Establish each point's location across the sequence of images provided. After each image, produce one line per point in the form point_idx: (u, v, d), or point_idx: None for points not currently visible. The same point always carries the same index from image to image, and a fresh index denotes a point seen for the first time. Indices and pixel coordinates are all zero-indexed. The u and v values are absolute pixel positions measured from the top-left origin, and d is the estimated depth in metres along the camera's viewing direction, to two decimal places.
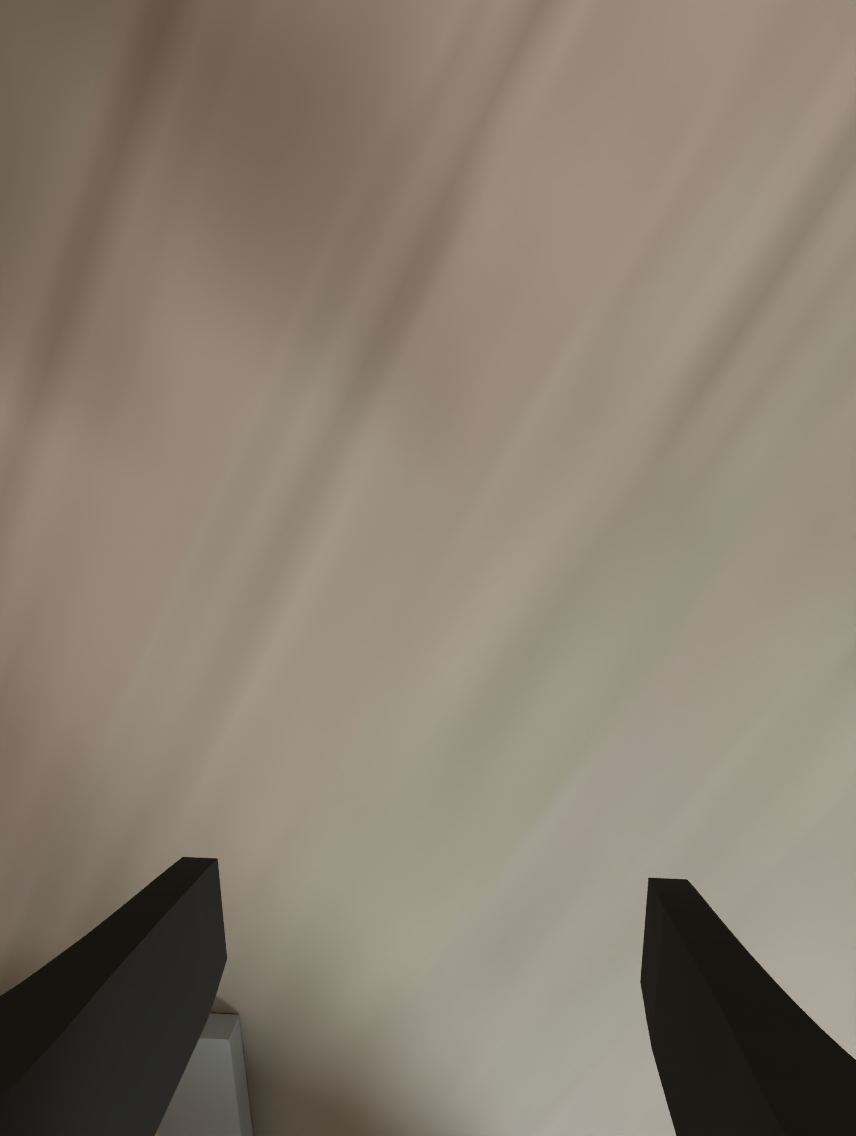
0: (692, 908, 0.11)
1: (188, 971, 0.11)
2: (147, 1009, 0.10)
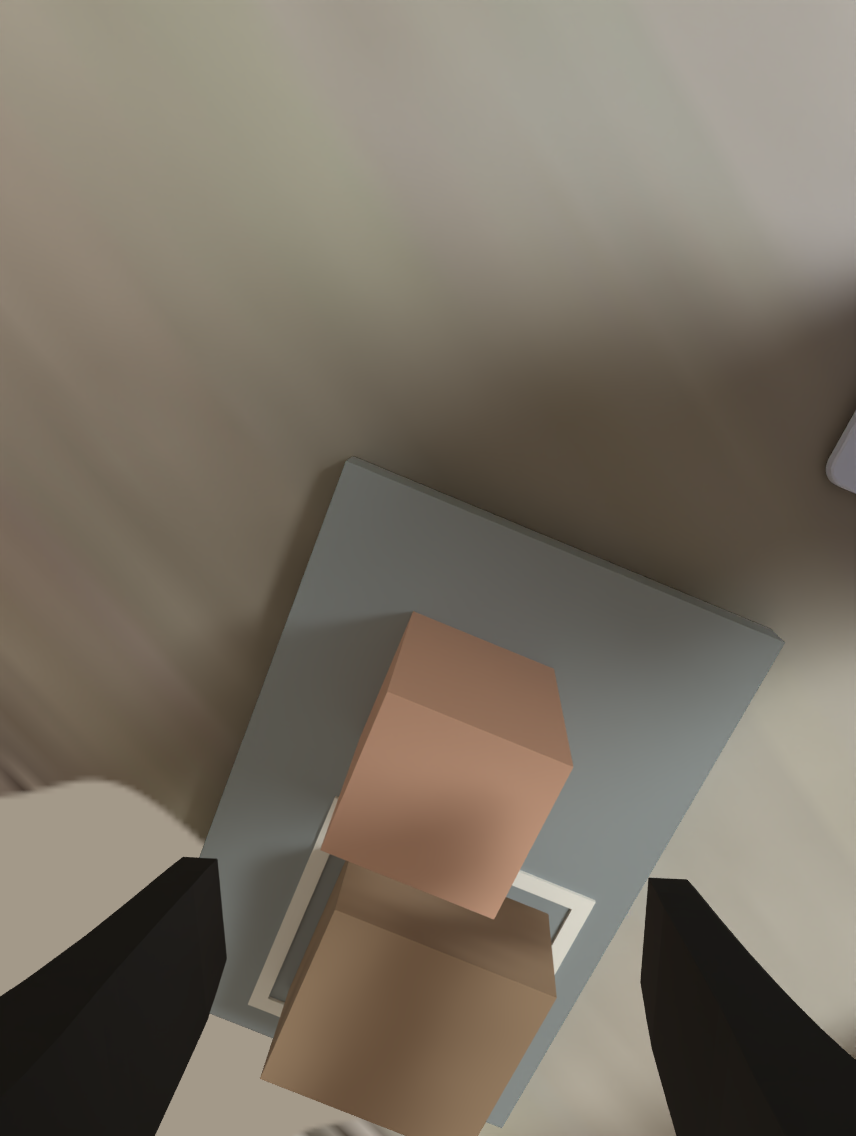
0: (692, 908, 0.11)
1: (188, 971, 0.11)
2: (147, 1009, 0.10)
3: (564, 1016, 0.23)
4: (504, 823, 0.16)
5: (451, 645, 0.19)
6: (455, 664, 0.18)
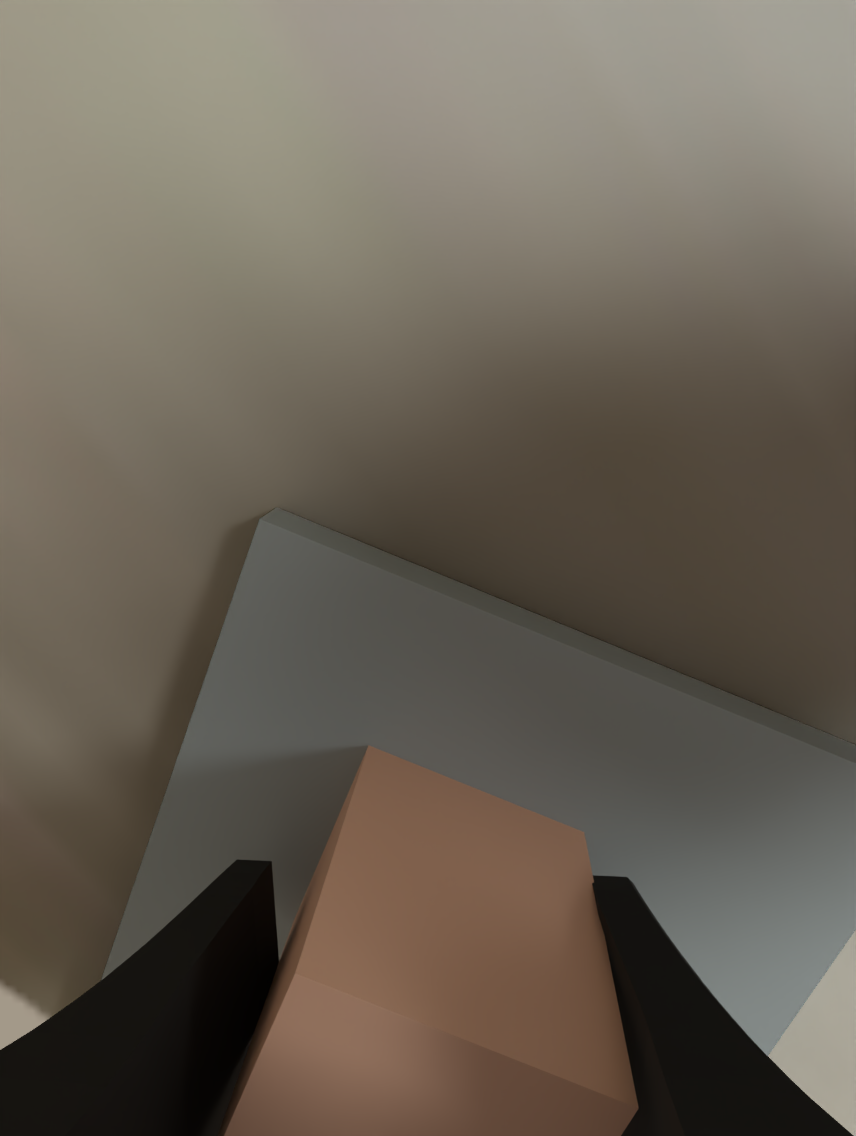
0: (627, 905, 0.11)
1: (247, 974, 0.11)
2: (213, 1013, 0.10)
3: None
4: None
5: (425, 813, 0.12)
6: (429, 859, 0.11)
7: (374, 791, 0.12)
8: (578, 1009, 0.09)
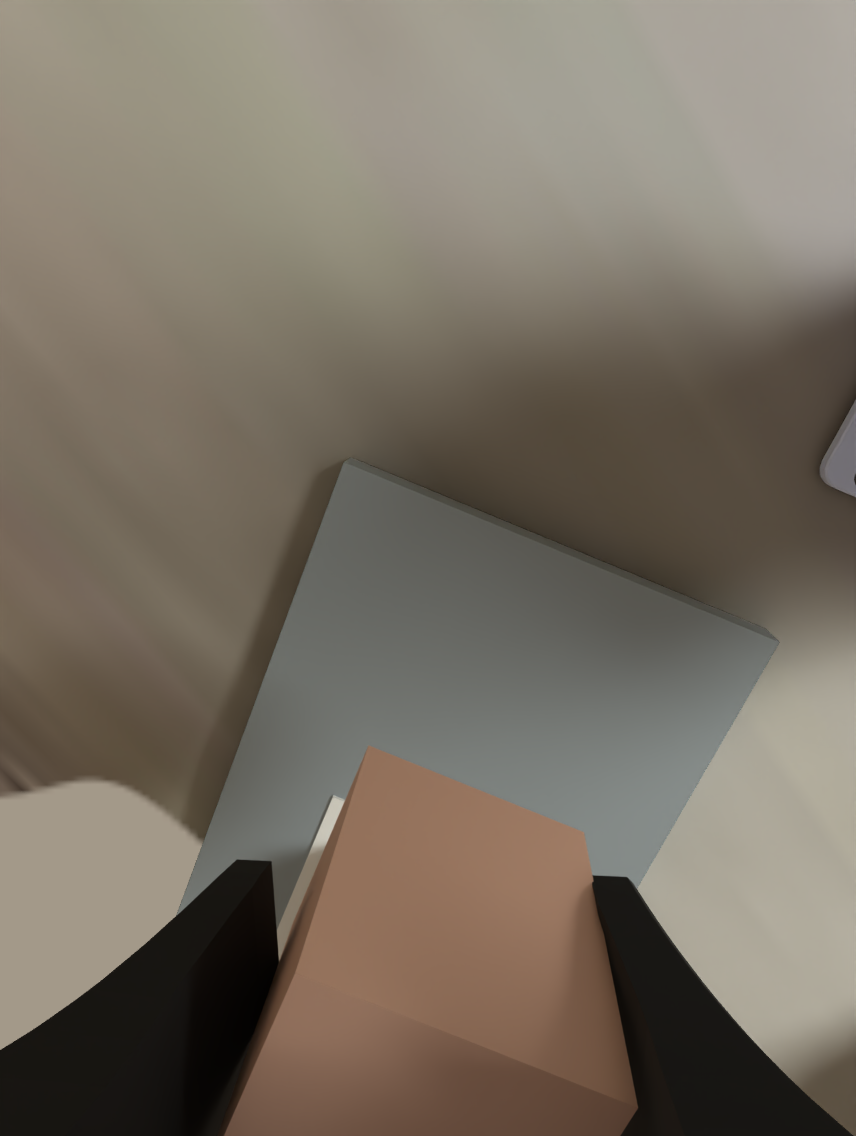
0: (626, 905, 0.11)
1: (247, 974, 0.11)
2: (212, 1013, 0.10)
3: None
4: None
5: (424, 814, 0.12)
6: (429, 859, 0.11)
7: (374, 791, 0.12)
8: (578, 1009, 0.09)
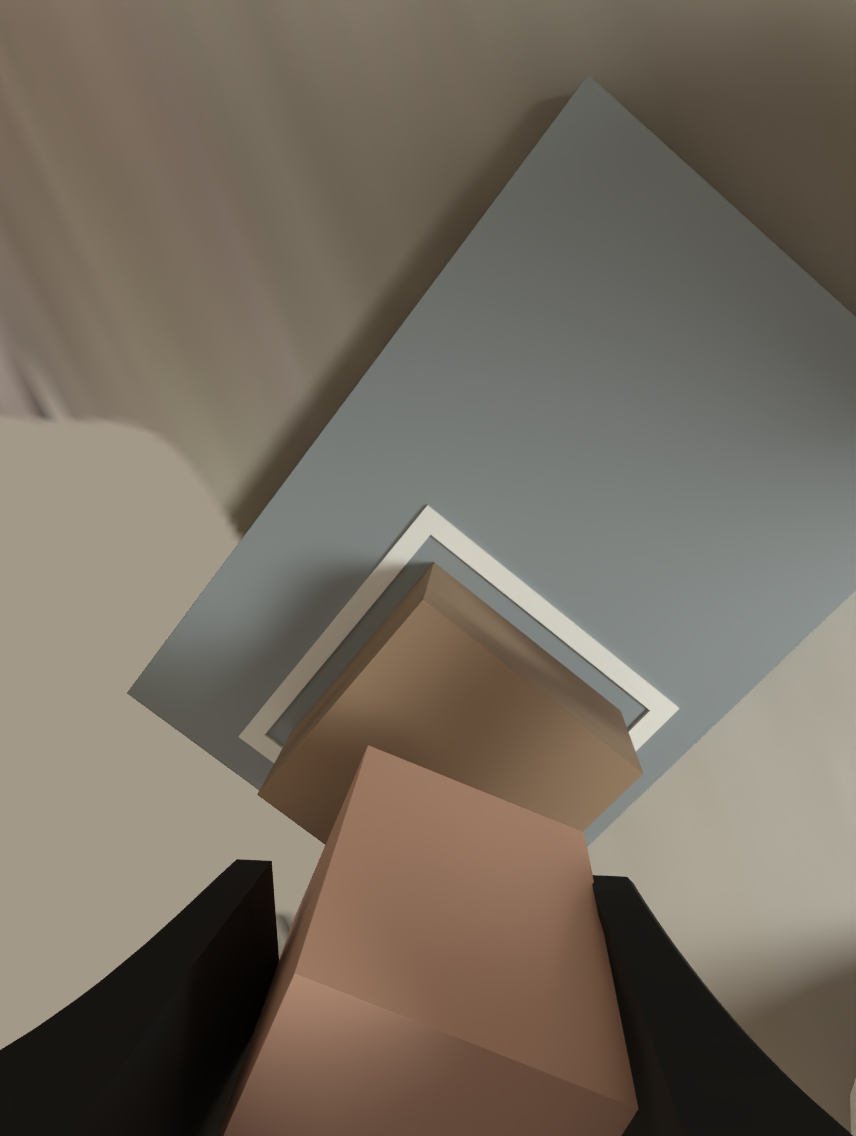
0: (626, 905, 0.11)
1: (247, 974, 0.11)
2: (212, 1013, 0.10)
3: (592, 838, 0.20)
4: None
5: (424, 813, 0.12)
6: (428, 860, 0.11)
7: (374, 791, 0.12)
8: (578, 1010, 0.09)
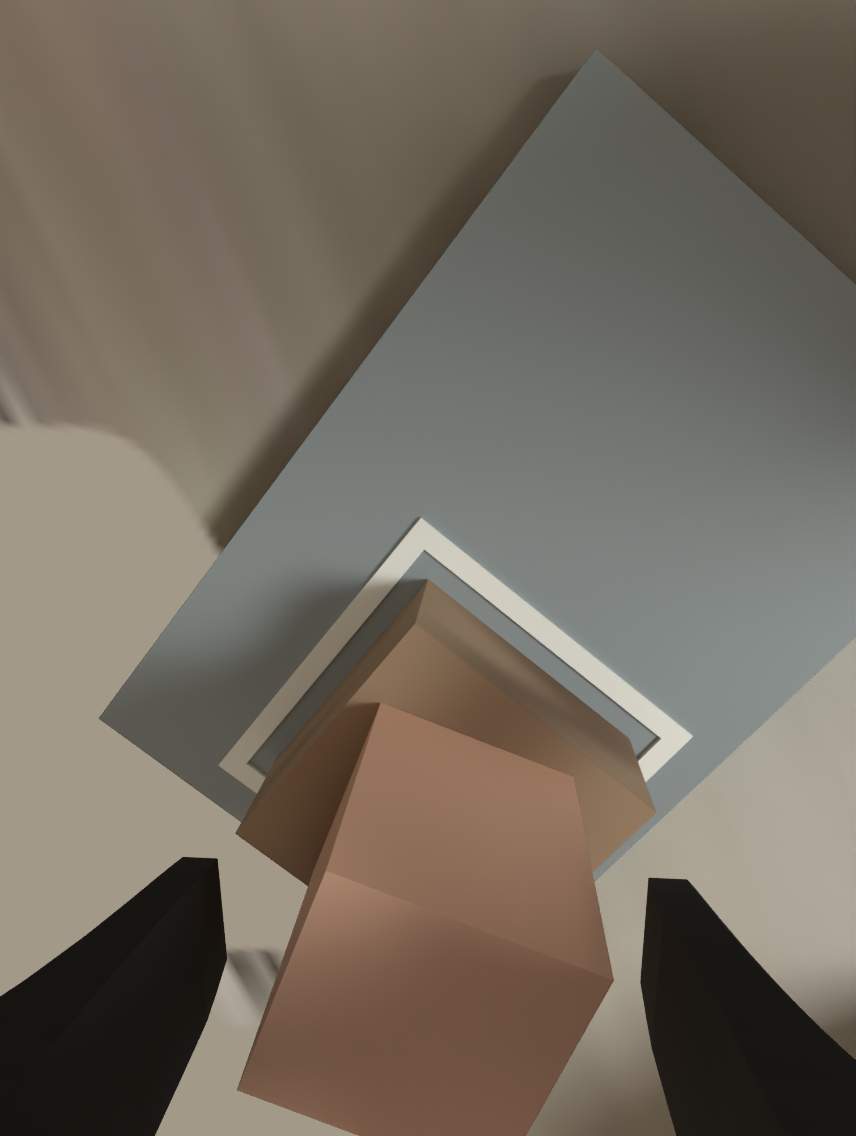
0: (692, 908, 0.11)
1: (188, 971, 0.11)
2: (147, 1009, 0.10)
3: (598, 873, 0.19)
4: (508, 1056, 0.10)
5: (431, 758, 0.13)
6: (435, 793, 0.12)
7: (387, 739, 0.13)
8: (564, 908, 0.11)
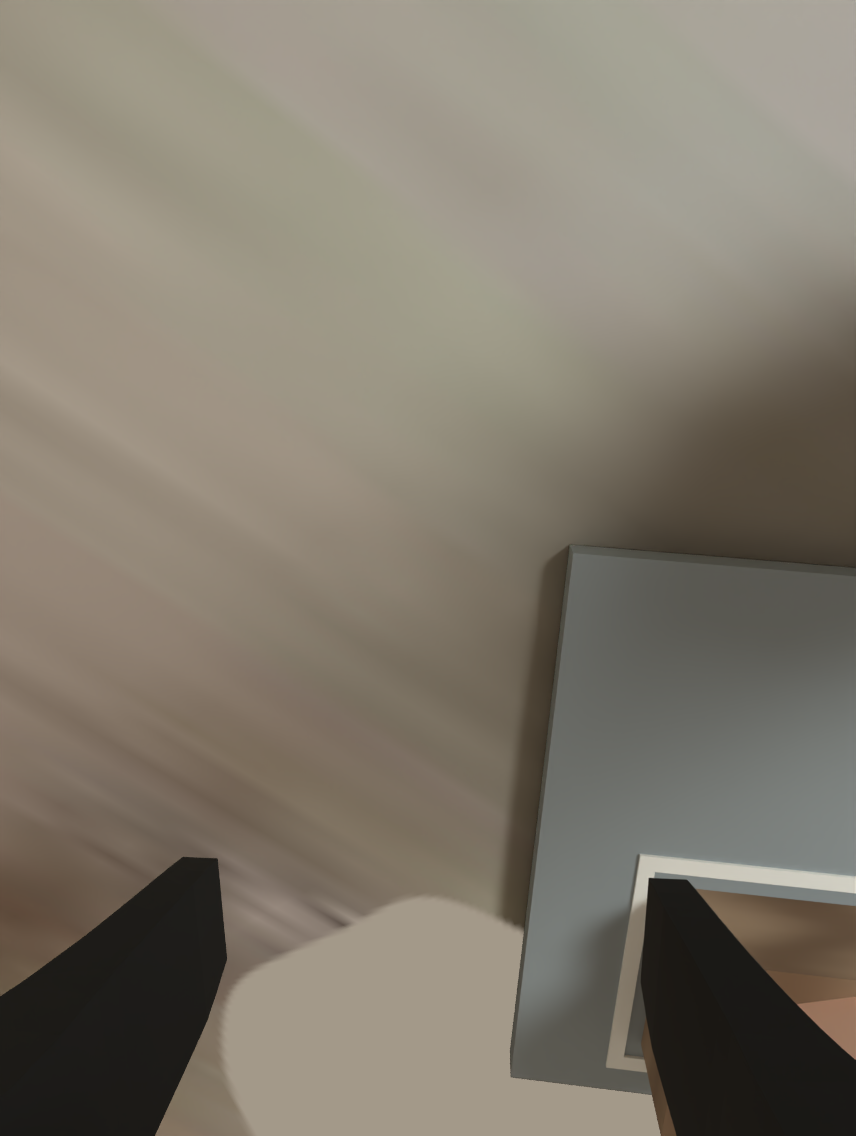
0: (692, 908, 0.11)
1: (188, 971, 0.11)
2: (147, 1009, 0.10)
3: None
4: None
5: None
6: None
7: None
8: None
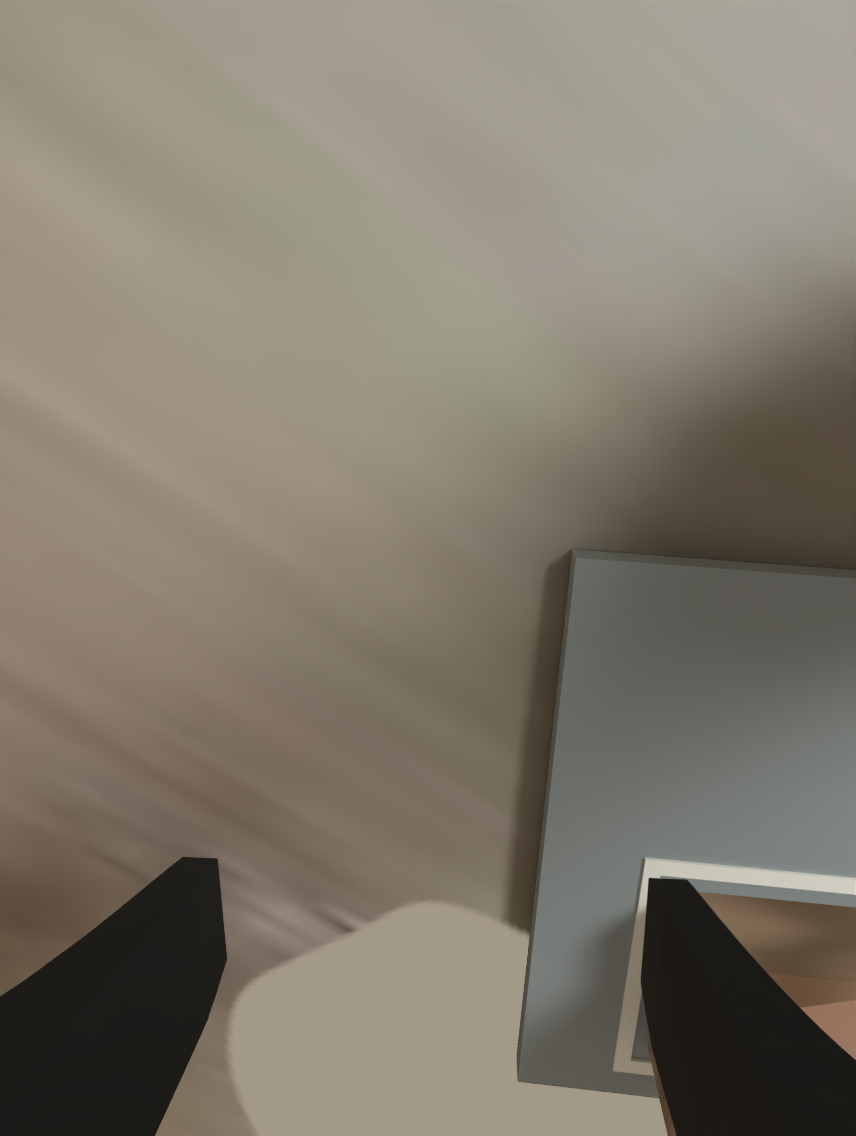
0: (692, 908, 0.11)
1: (188, 971, 0.11)
2: (147, 1009, 0.10)
3: None
4: None
5: None
6: None
7: None
8: None
